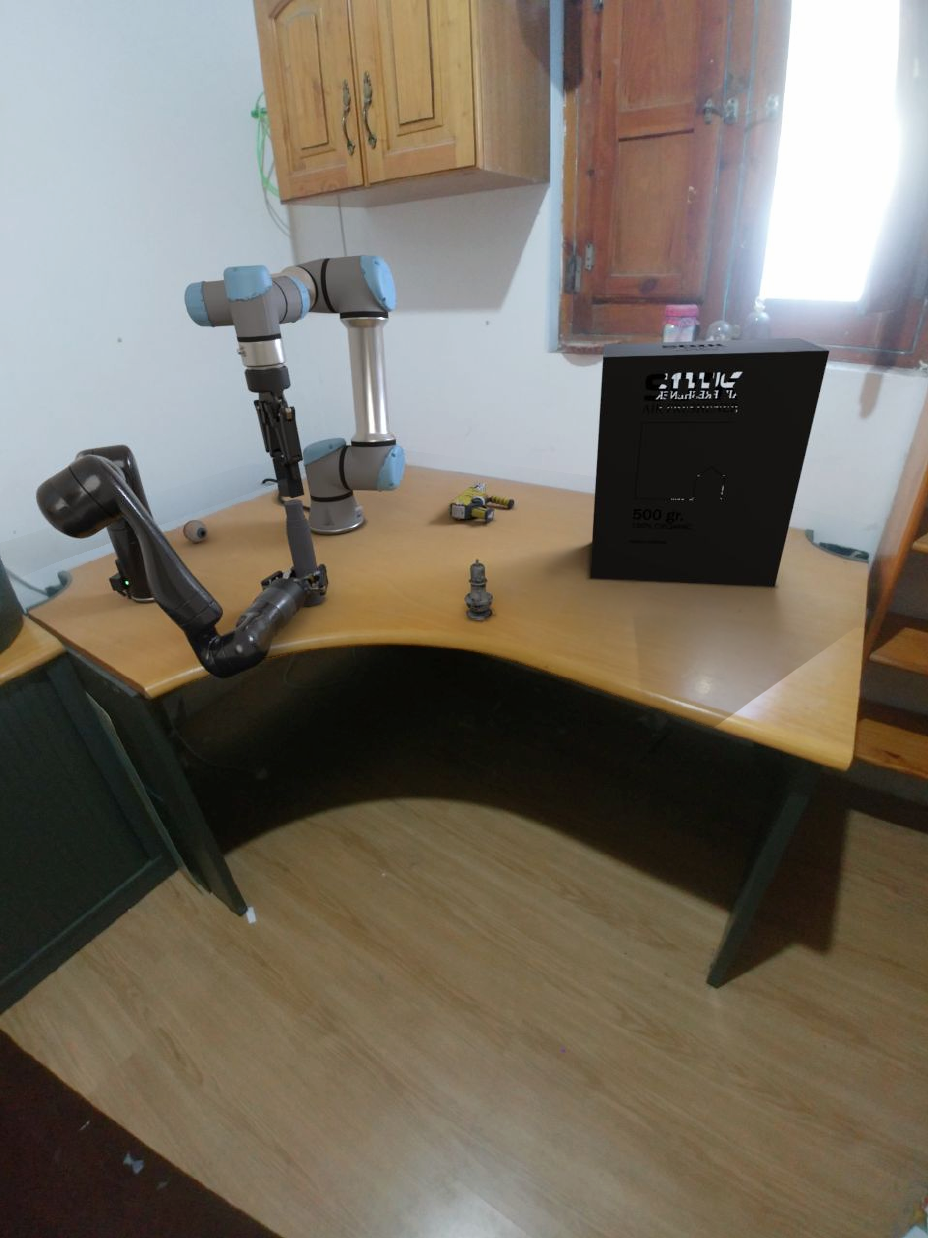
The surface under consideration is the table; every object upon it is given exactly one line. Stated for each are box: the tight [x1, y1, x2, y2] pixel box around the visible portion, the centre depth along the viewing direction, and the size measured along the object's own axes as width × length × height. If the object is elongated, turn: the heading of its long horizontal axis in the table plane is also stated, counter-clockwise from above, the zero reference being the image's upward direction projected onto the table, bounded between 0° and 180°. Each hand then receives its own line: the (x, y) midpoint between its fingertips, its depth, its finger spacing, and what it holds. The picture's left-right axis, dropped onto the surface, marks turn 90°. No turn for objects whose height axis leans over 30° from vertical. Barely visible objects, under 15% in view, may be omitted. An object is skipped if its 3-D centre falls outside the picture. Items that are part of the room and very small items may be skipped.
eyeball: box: [182, 519, 208, 544], centre depth 162 cm, size 6×6×6 cm
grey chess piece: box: [463, 559, 494, 621], centre depth 118 cm, size 6×6×12 cm
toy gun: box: [448, 481, 515, 523], centre depth 173 cm, size 5×24×15 cm
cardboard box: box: [589, 337, 830, 587], centre depth 126 cm, size 38×20×45 cm, turn 78°
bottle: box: [283, 498, 324, 607], centre depth 125 cm, size 5×5×22 cm
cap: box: [276, 478, 290, 498], centre depth 118 cm, size 5×5×2 cm
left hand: (311, 567), depth 129 cm, fingers closed on bottle, 4 cm apart
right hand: (291, 492), depth 119 cm, fingers closed on cap, 4 cm apart
